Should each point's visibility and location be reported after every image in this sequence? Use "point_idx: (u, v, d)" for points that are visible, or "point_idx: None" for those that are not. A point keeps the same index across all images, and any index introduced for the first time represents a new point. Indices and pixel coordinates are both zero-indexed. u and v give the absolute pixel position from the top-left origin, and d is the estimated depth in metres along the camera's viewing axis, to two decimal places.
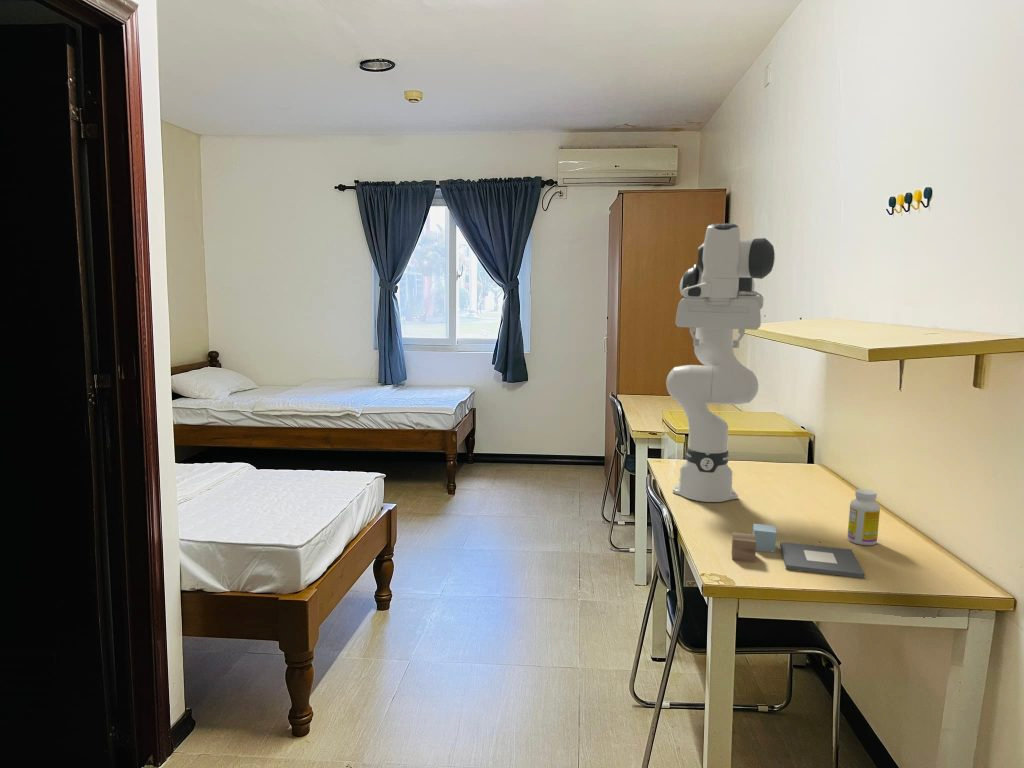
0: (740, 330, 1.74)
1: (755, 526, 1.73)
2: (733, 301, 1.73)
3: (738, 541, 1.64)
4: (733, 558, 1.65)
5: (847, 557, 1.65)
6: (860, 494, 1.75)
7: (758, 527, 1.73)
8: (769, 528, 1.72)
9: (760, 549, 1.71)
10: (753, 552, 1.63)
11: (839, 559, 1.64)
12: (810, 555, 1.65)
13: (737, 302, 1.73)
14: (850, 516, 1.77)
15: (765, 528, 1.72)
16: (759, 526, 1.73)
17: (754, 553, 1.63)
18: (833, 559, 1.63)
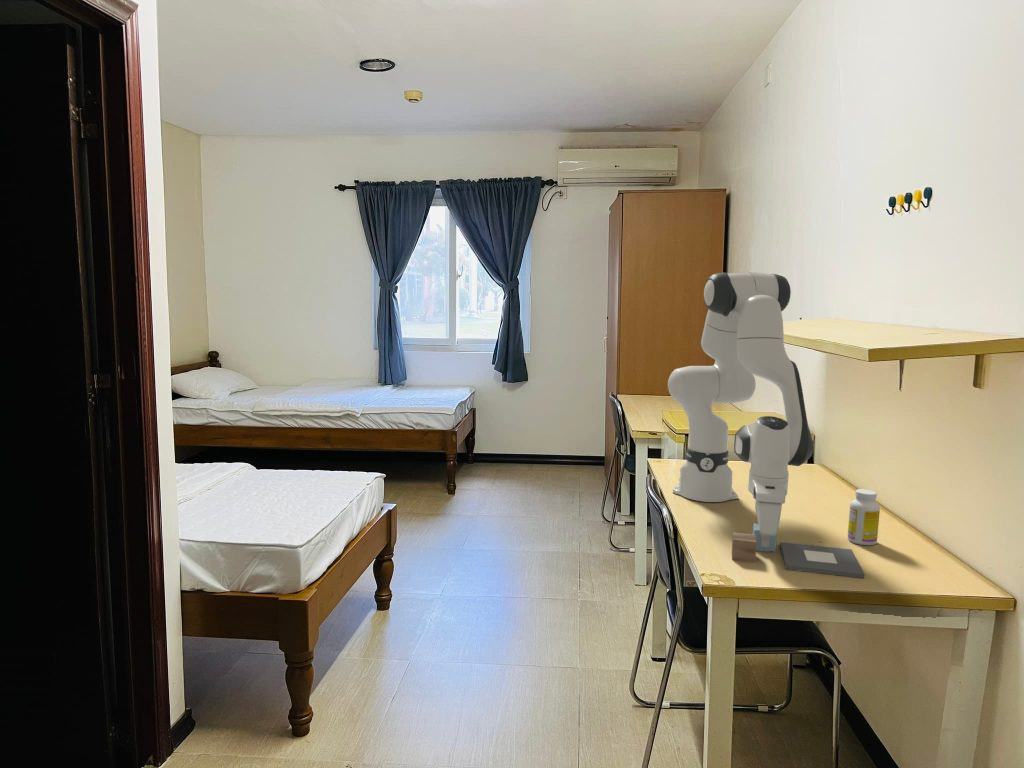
0: None
1: (755, 526, 1.73)
2: None
3: (738, 541, 1.64)
4: (733, 558, 1.65)
5: (847, 557, 1.65)
6: (860, 494, 1.75)
7: (758, 526, 1.73)
8: None
9: (760, 549, 1.71)
10: (753, 552, 1.63)
11: (839, 559, 1.64)
12: (810, 555, 1.65)
13: None
14: (850, 516, 1.77)
15: None
16: None
17: (754, 553, 1.63)
18: (833, 559, 1.63)
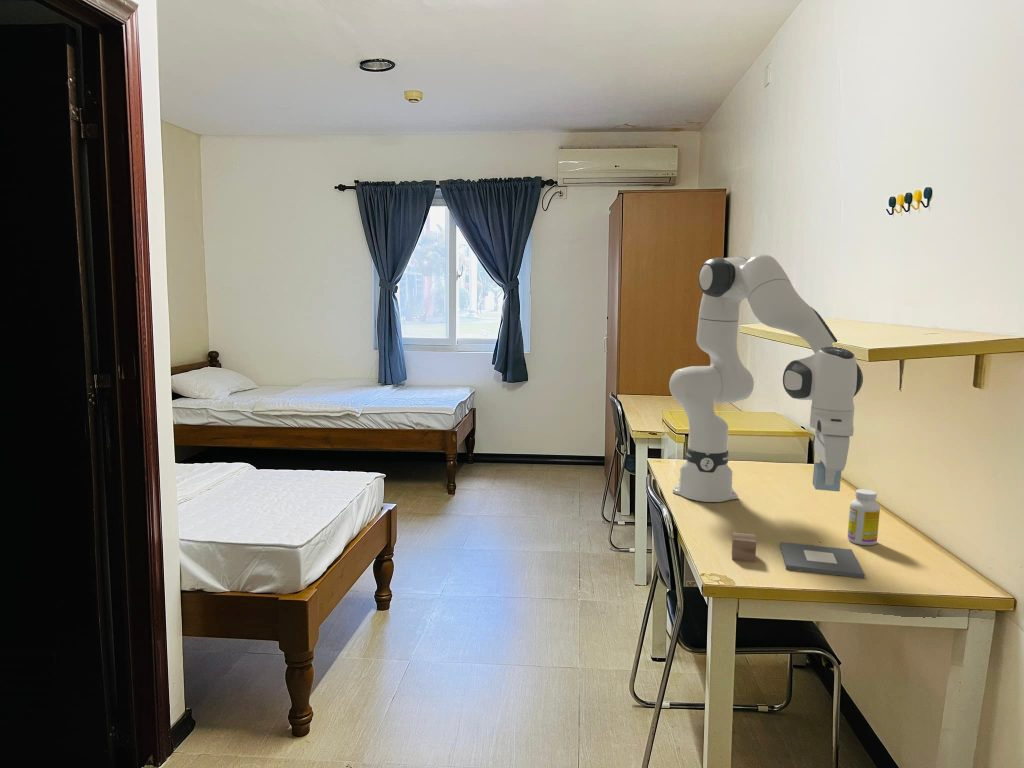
0: None
1: (817, 464, 1.63)
2: None
3: (738, 541, 1.64)
4: (733, 558, 1.65)
5: (847, 557, 1.65)
6: (860, 494, 1.75)
7: (820, 465, 1.62)
8: None
9: (823, 488, 1.60)
10: (753, 552, 1.63)
11: (839, 559, 1.64)
12: (810, 555, 1.65)
13: None
14: (850, 516, 1.77)
15: None
16: (821, 464, 1.63)
17: (754, 553, 1.63)
18: (833, 559, 1.63)
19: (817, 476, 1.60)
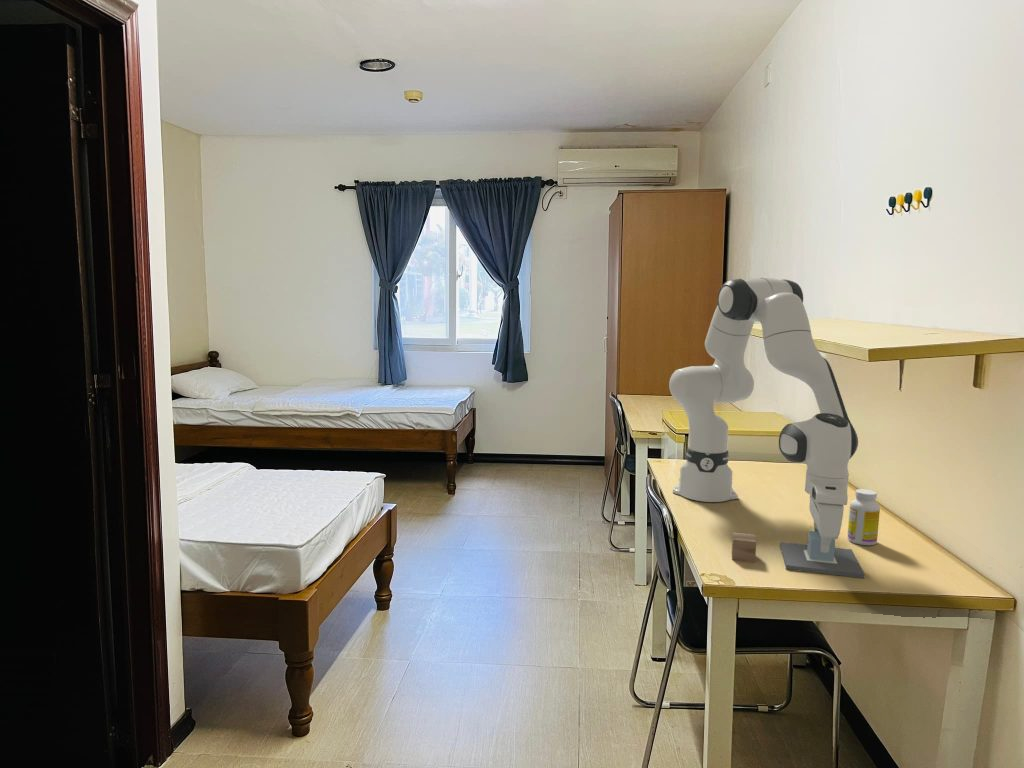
0: None
1: (811, 534, 1.65)
2: None
3: (738, 541, 1.64)
4: (733, 558, 1.65)
5: (847, 557, 1.65)
6: (860, 494, 1.75)
7: (814, 534, 1.65)
8: None
9: (817, 558, 1.63)
10: (753, 552, 1.63)
11: (839, 559, 1.64)
12: None
13: None
14: (850, 516, 1.77)
15: None
16: (815, 534, 1.65)
17: (754, 553, 1.63)
18: None
19: (811, 546, 1.63)
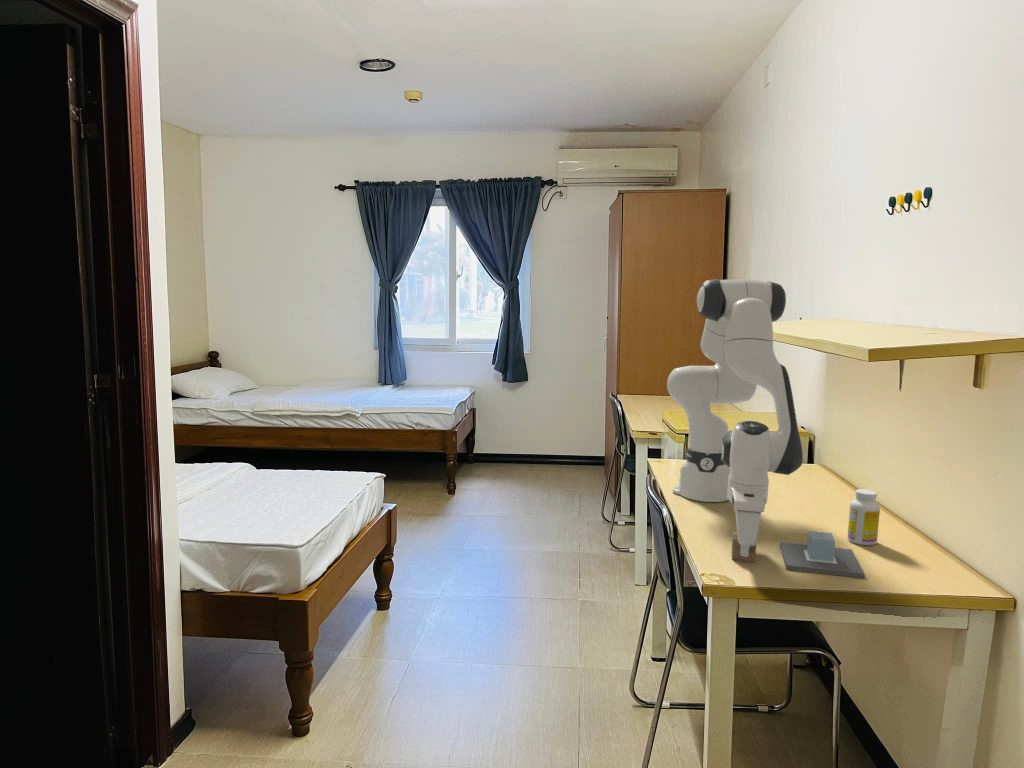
0: None
1: (811, 534, 1.65)
2: None
3: None
4: (733, 558, 1.65)
5: (847, 557, 1.65)
6: (860, 494, 1.75)
7: (814, 534, 1.65)
8: (827, 536, 1.64)
9: (817, 558, 1.63)
10: (753, 551, 1.63)
11: (839, 559, 1.64)
12: None
13: None
14: (850, 516, 1.77)
15: (822, 536, 1.64)
16: (815, 534, 1.65)
17: (754, 553, 1.63)
18: None
19: (811, 546, 1.63)
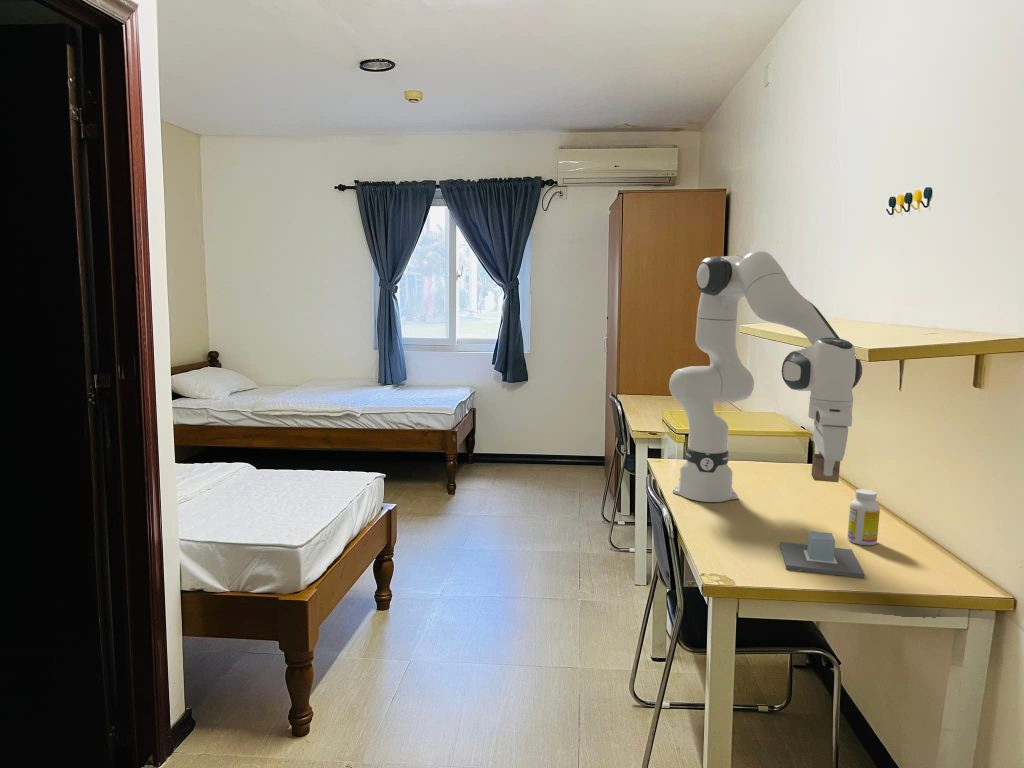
0: None
1: (811, 534, 1.65)
2: None
3: (821, 460, 1.59)
4: (815, 478, 1.60)
5: (847, 557, 1.65)
6: (860, 494, 1.75)
7: (814, 534, 1.65)
8: (827, 536, 1.64)
9: (817, 558, 1.63)
10: (836, 471, 1.59)
11: (839, 559, 1.64)
12: None
13: None
14: (850, 516, 1.77)
15: (822, 536, 1.64)
16: (815, 534, 1.65)
17: (838, 472, 1.59)
18: None
19: (811, 546, 1.63)
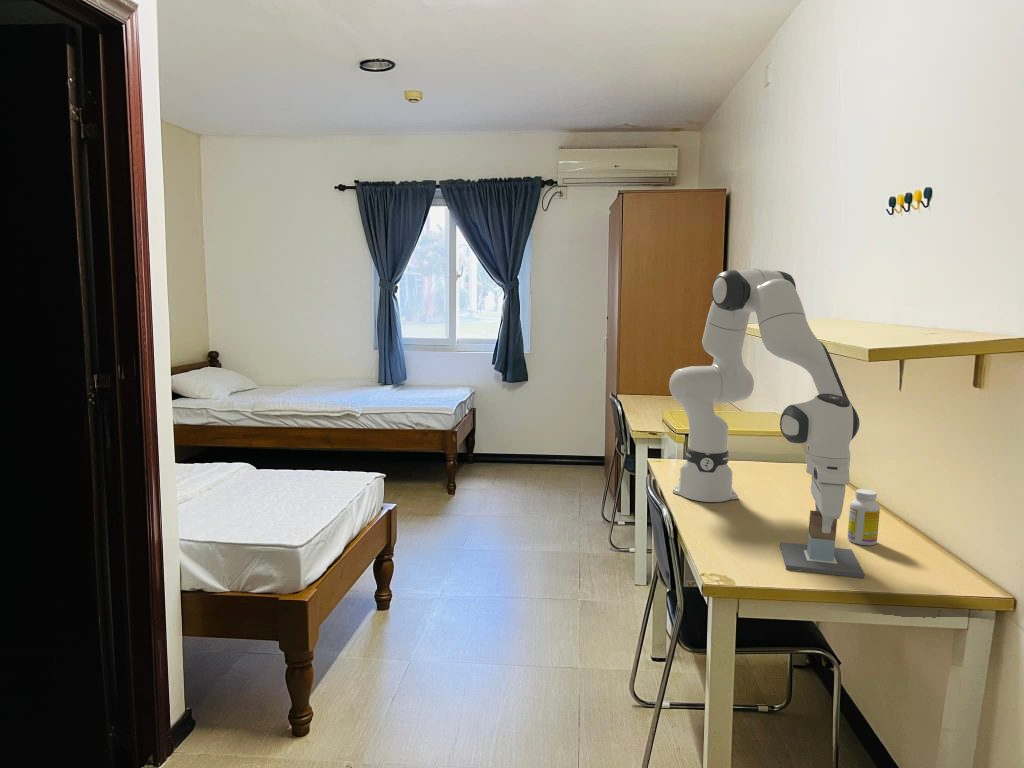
0: None
1: None
2: None
3: (818, 518, 1.62)
4: (813, 536, 1.62)
5: (847, 557, 1.65)
6: (860, 494, 1.75)
7: None
8: None
9: (817, 558, 1.63)
10: (833, 529, 1.61)
11: (839, 559, 1.64)
12: None
13: None
14: (850, 516, 1.77)
15: None
16: None
17: (835, 531, 1.61)
18: None
19: (811, 546, 1.63)
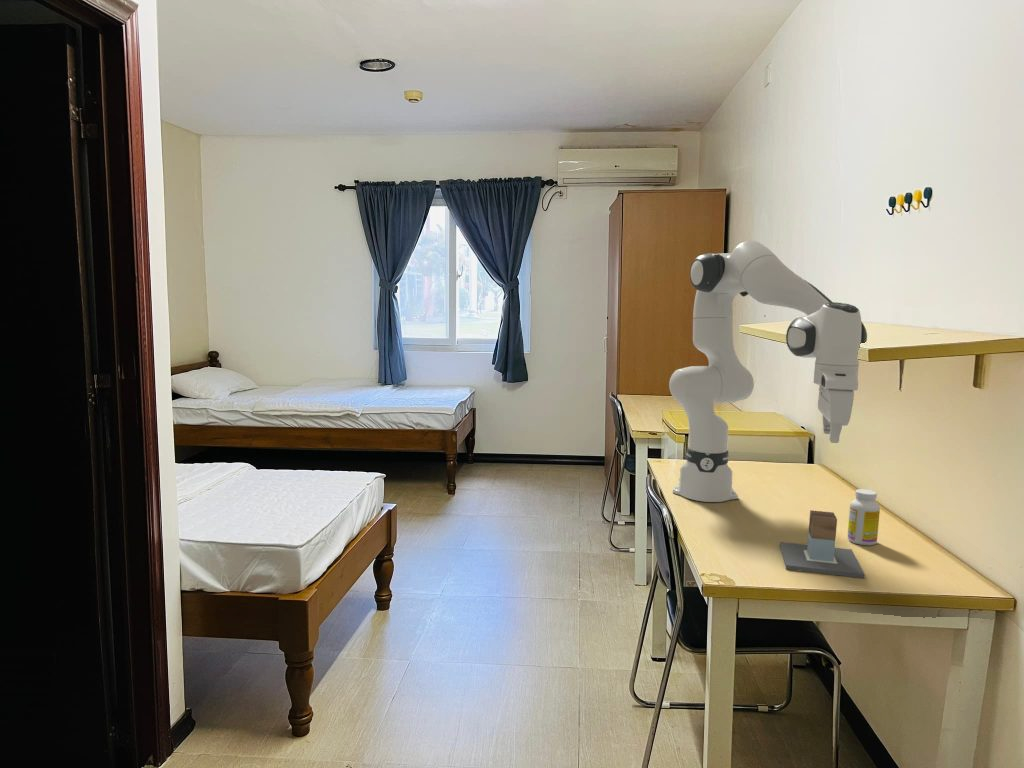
0: None
1: None
2: None
3: (818, 518, 1.62)
4: (813, 536, 1.62)
5: (847, 557, 1.65)
6: (860, 494, 1.75)
7: None
8: None
9: (817, 558, 1.63)
10: (833, 529, 1.61)
11: (839, 559, 1.64)
12: None
13: None
14: (850, 516, 1.77)
15: None
16: None
17: (835, 531, 1.61)
18: None
19: (811, 546, 1.63)
